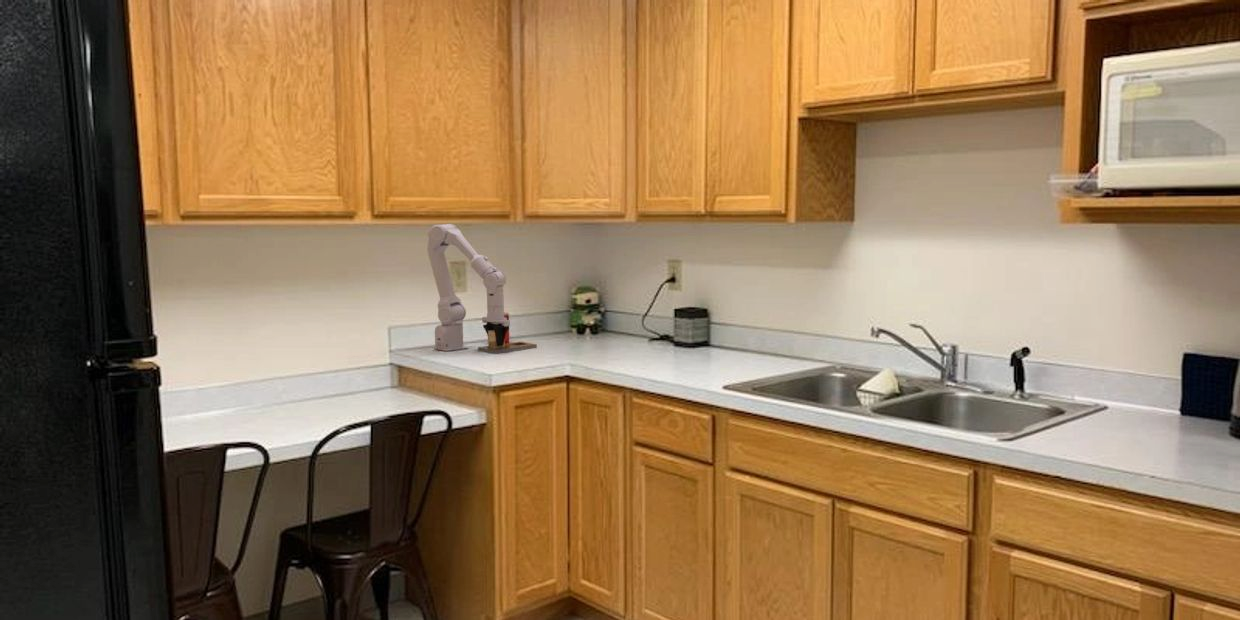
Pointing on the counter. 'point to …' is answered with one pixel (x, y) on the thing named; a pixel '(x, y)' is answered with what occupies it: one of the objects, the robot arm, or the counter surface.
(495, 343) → the birch peg
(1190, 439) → the counter surface
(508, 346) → the rail plate
